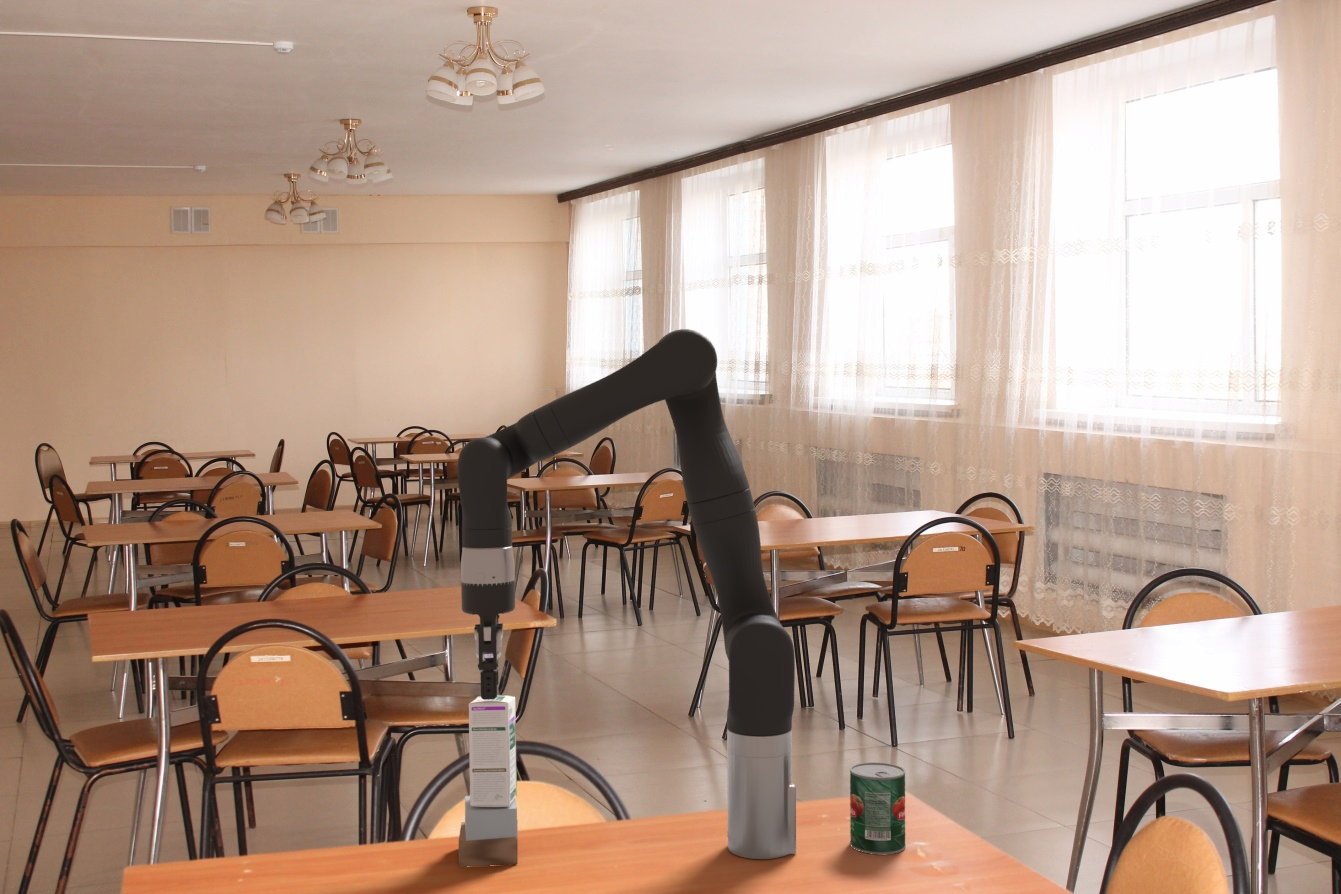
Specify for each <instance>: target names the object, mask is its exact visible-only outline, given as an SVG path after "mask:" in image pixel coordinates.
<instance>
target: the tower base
mask: <svg viewBox="0 0 1341 894" xmlns="http://www.w3.org/2000/svg"><path fill="white" fill-rule="evenodd" d="M460 823H461V824H460V829H459V836H458V868H459V867H465V868H468V867H467V866H485V867H491V866H490V865H504V866H515V865H514V864H519V863H518V860H519V859H518V854H519V853H518V851H519V850H518V847H519V843H518V842H519V841H518V840H519V839H518V838H519V837H518V835H519V834H518V827H519V826H518V819H517V837H512V838H498V839H483V840H469V841H466V831H465V821H462V822H461V821H460Z"/></svg>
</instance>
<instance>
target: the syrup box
mask: <svg viewBox="0 0 1341 894" xmlns="http://www.w3.org/2000/svg"><path fill="white" fill-rule="evenodd" d="M516 722H517V719H516V696H514V695H505V694H497V697H496V698H495V699H486V700H484V699H482V698H481V695H478V696H477V697H475V699H474V700H472V701H471V702H469V703H468V743H469V744H468V747H469V753H468V756H469V758H468V759H469V761H468V762H469V763H468V764H469V796H470V805H471V806H477V807H509V806H510V804H511V803H512V802H513V800H514V799H515V800H516V797H517V796H518V791H517V790H518V788H517V787H518V783H517V782H518V781H517V726H516V724H517V723H516Z"/></svg>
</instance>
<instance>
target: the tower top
mask: <svg viewBox="0 0 1341 894" xmlns="http://www.w3.org/2000/svg"><path fill="white" fill-rule="evenodd" d="M516 802H517V801H516V798H515V799H514V800H513V802H512V803H511V804H510V806H509V807H477V806H471V805H470V795H466V796H464V822H465V831H466V841H469V840H483V839H498V838H512V837H517V820H518V808H517V807H518V806H517V803H516Z"/></svg>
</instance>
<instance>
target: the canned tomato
mask: <svg viewBox="0 0 1341 894" xmlns="http://www.w3.org/2000/svg"><path fill="white" fill-rule="evenodd" d="M849 773H850V774H849V775H850V776H849V778H850V779H849V786H850V787H849V791H850V792H849V795H850V796H849V801H850V802H849V805H850V806H849V807H850V811H849V812H850V814H849V815H850V816H849V817H850V818H849V822H850V823H849V824H850V825H849V828H850V829H849V831H850V832H849V833H850V836H849V837H850V841H849V845H850V844H851V845H852V847H853V848H855V849H857V850H860V851H863V852H866V853H872V854H871V855H873V854H881V855H880V856H883V855H882V854H891V855H895V854H894V853H896V854H898V852H899V853H901V851H902V852H904V850H905V849H906V769H904V768H903V767H902V766H899V765H896V764H893V763H887V762H879V761H878V762H876V761H875V762H862V763H856V764H854V765H852V766H850V767H849ZM851 845H850V846H851ZM852 847H851V848H852ZM853 848H852V849H853ZM855 849H854V850H855ZM857 850H856V851H857ZM866 853H865V854H866Z"/></svg>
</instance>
